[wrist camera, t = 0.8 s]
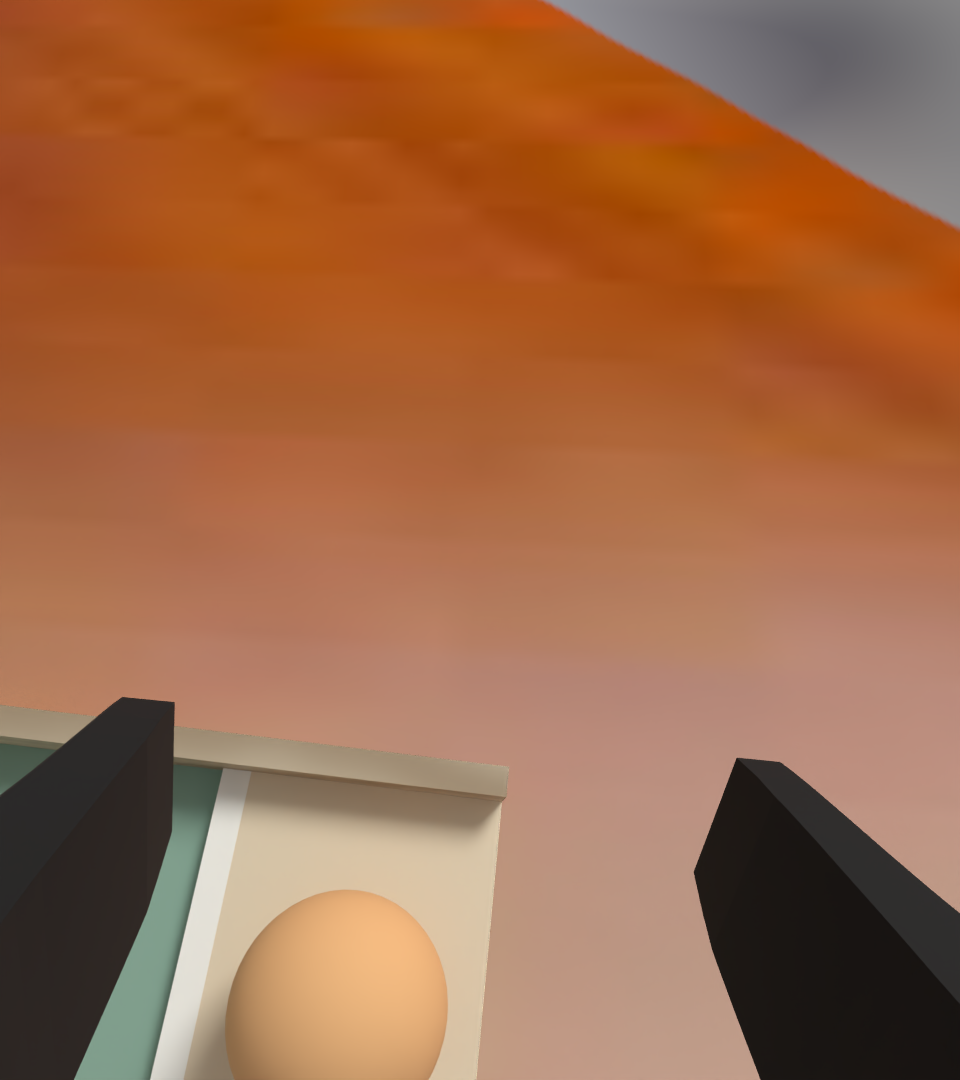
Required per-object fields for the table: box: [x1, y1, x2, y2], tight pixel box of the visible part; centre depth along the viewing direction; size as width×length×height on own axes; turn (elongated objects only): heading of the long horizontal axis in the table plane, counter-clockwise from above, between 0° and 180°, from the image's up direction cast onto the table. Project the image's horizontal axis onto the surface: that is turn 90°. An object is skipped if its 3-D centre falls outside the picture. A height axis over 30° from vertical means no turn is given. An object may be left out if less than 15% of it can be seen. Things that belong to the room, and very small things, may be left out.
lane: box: [0, 743, 502, 1080], centre depth 21 cm, size 12×17×1 cm
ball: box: [225, 890, 448, 1080], centre depth 18 cm, size 5×5×5 cm
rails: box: [0, 705, 509, 802], centre depth 20 cm, size 12×17×2 cm
